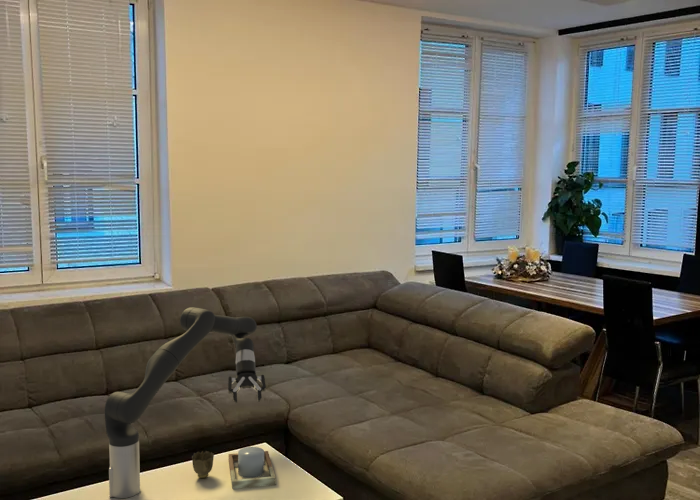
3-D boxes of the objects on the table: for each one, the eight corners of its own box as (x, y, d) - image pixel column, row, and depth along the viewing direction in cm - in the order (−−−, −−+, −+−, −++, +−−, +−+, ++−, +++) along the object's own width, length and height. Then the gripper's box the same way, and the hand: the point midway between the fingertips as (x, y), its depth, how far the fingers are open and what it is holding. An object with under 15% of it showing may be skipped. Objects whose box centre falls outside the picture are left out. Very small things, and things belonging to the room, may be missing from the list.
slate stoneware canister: (239, 479, 231) (239, 458, 231) (237, 467, 240) (237, 447, 239) (265, 476, 234) (265, 456, 233) (262, 466, 242) (262, 445, 241)
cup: (208, 483, 228) (208, 460, 227) (188, 480, 230) (188, 458, 229) (217, 473, 236) (217, 451, 235) (197, 471, 237) (197, 449, 236)
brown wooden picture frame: (232, 488, 224) (232, 481, 224) (228, 460, 246) (228, 454, 246) (275, 484, 227) (275, 477, 227) (268, 457, 250) (267, 450, 249)
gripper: (227, 360, 261) (228, 398, 251) (264, 358, 264) (267, 396, 254) (227, 369, 267) (228, 407, 257) (263, 367, 270) (266, 404, 260)
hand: (247, 401), depth 256 cm, fingers open, 8 cm apart
